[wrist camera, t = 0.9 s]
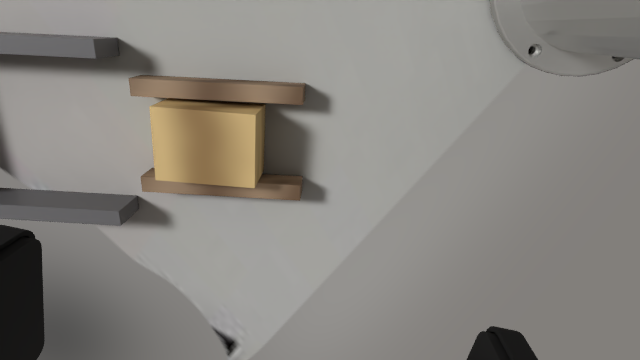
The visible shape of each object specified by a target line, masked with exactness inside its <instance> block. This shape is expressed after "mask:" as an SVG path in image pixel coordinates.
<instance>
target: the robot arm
mask: <svg viewBox="0 0 640 360" xmlns="http://www.w3.org/2000/svg"><path fill="white" fill-rule="evenodd" d="M489 1H490V8H491V15H492V18H493V20H494V23H495V26H496V29H497V32H498V33H499V35H500V37H501V38H502V40H503V41H504V43H505V45H506V46H507V47H508V48H509V49H510V50H511V51H512V52H513V53H514V55H515V56H516V57H517V58H519V59H520V60H522V61H523V62H525V63H526V64H528V65H529V66H531V67H533V68H536V69H539V70H541V71H544V72H547V73H552V74H556V75H561V76H586V75H594V74H599V73H602V72H605V71H608V70H612V69H615V68H617V67H619V66H621V65H623V64H625V63H627V62H629V61H631V60H633V59H640V0H489ZM530 46H531V47H532V52H531V53H530V54H528V50H529V48H530ZM42 279H43V278H42V248H41V243H40V241H39V240H36V239H35V235H34V234H33V232H31V231H29V230H24V229H19V228H14V227H10V226H5V225H0V360H36V359H37V358H38V357H39V355H40V353H41V351H42V349H43V346H44V312H43V280H42ZM467 360H538V359H537V358H536V356H535V354H534V352H533V351H532V350H531V348H530V346H529V344H528V343H527V341H526V339H525V338H524V336H523V335H522V334H521V333H520V332H517V331H514V330H508V329H504V328H499V327H494V326H493V327H489V328H488V329H487V331H486V332H484V331H483V332H480V333H479V334H478V336H477V339H476V340H475V343H474V345H473V347H472V349H471V351H470V354H469V356H468V358H467Z"/></svg>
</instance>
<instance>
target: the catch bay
mask: <svg viewBox="0 0 640 360" xmlns="http://www.w3.org/2000/svg"><path fill="white" fill-rule="evenodd" d="M0 54H16V55H36V56H56V57H76V58H104V57H111V56H119V50H118V42H117V38H110V37H89V36H69V35H49V34H28V33H8V32H0ZM138 209H139V207H138V199H137V196H133V195H115V194H98V193H80V192H63V191H45V190H27V189H11V188H0V219H15V220H32V221H49V222H66V223H82V224H99V225H116V226H121V225H122V224H123V223H124V222H125V221H126V220H127V219H129V218H130V217H131V216H132V215H133V214H134V213H135V212H136V211H137V210H138Z"/></svg>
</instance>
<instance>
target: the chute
mask: <svg viewBox="0 0 640 360" xmlns="http://www.w3.org/2000/svg"><path fill="white" fill-rule="evenodd" d="M129 85H130V94H131V96H142V97H161V98H180V99H199V100H218V101H238V102H257V103H276V104H295V105H303V103H304V101H305V83H288V82H268V81H249V80H229V79H210V78H190V77H170V76H151V75H140V76H136V77H132V78H129ZM302 177H303V176H287V175H270V174H262V175H261V177H260V179H259V181H258V183H257V185H256V186H255V188H245V187H233V186H221V185H208V184H196V183H184V182H172V181H160V180H155V168H151V169H150V170H149V171H147V172H146V173H145V174H143V175H142V176H141V184H142V191H143V192H161V193H178V194H196V195H213V196H231V197H248V198H266V199H283V200H300V198H301V193H302Z"/></svg>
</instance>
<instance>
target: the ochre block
mask: <svg viewBox="0 0 640 360" xmlns="http://www.w3.org/2000/svg"><path fill="white" fill-rule="evenodd" d="M150 118H151V130H152V143H153V155H154V167H155V180H160V181H172V182H184V183H196V184H208V185H221V186H233V187H245V188H255V186H256V185H257V183H258V181H259V179H260V177H261V175H262V173H263V171H264V144H265V104H255V103H243V102H230V101H217V100H199V99H180V98H168V99H166V100H164V101H161V102H159V103H156V104H154V105H152V106H150Z"/></svg>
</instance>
